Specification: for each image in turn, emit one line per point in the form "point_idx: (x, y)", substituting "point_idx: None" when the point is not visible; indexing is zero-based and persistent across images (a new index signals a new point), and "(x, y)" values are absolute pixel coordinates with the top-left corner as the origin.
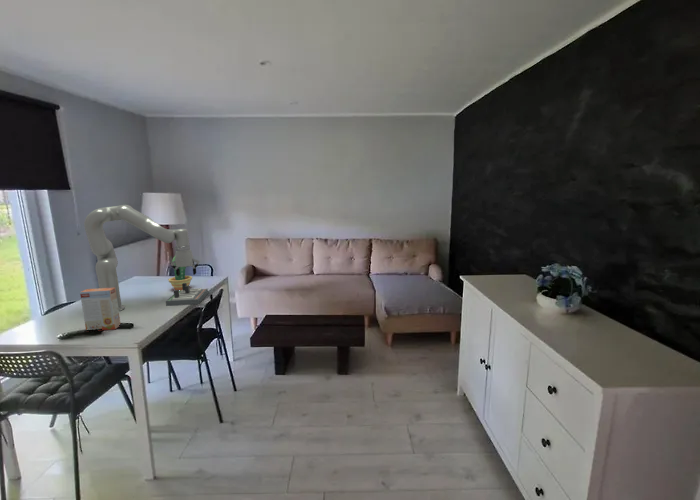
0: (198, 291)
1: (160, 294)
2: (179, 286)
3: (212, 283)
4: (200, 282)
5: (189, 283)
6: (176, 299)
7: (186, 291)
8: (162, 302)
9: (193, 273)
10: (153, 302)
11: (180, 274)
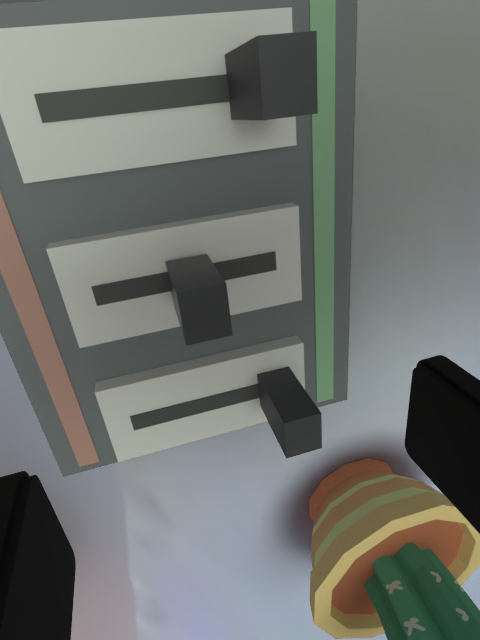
0: (111, 381)
1: None
2: (367, 484)
3: (176, 627)
4: (274, 620)
5: (312, 551)
6: (230, 14)
7: (195, 264)
8: (400, 155)
9: (9, 501)
10: (477, 163)
11: (421, 611)
